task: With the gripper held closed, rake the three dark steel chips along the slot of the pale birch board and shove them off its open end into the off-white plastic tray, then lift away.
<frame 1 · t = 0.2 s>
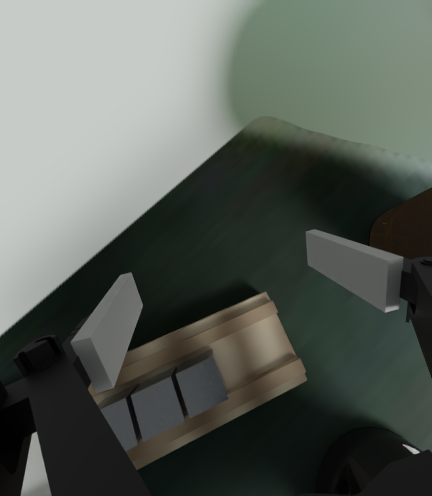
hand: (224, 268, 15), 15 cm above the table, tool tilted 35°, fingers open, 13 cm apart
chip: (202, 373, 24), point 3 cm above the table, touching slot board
slot board: (196, 369, 27), on the table
tray: (31, 447, 24), on the table
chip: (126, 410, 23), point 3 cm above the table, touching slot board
chip middle: (165, 391, 23), point 3 cm above the table, touching slot board
wooden container: (413, 251, 33), on the table
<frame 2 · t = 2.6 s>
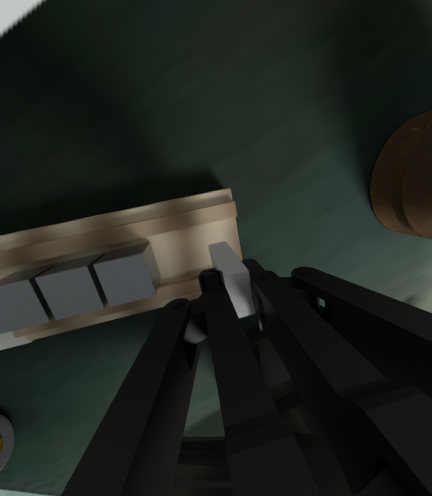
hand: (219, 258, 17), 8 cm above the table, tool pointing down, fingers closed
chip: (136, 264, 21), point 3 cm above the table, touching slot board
slot board: (133, 257, 24), on the table
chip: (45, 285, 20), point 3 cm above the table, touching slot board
chip middle: (91, 274, 21), point 3 cm above the table, touching slot board
wooden container: (418, 176, 27), on the table
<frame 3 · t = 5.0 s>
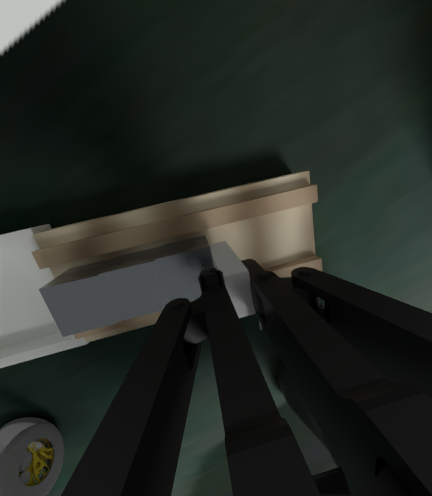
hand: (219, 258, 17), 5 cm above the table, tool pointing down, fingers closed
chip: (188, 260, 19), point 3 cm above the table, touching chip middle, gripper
slot board: (192, 250, 22), on the table
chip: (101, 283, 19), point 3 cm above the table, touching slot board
chip middle: (145, 271, 19), point 3 cm above the table, touching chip
pocket watch: (42, 427, 26), on the table
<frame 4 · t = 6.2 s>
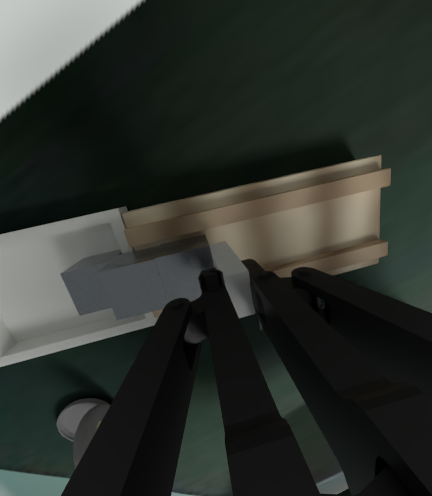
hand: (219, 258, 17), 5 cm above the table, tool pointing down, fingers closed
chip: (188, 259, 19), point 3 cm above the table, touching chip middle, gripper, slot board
slot board: (256, 235, 23), on the table
tray: (67, 281, 21), on the table
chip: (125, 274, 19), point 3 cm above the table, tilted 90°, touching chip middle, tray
chip middle: (145, 270, 19), point 3 cm above the table, touching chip, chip
pocket watch: (100, 409, 26), on the table
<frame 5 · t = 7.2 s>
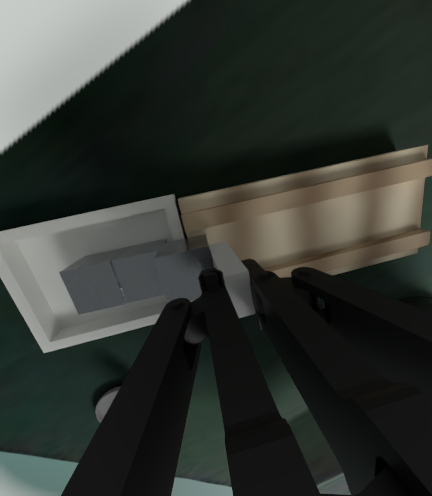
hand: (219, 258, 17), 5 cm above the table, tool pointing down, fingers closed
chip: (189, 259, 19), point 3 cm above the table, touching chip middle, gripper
slot board: (297, 224, 23), on the table
tray: (113, 268, 21), on the table
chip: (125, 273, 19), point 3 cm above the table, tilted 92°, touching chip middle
chip middle: (151, 261, 21), point 1 cm above the table, touching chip, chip
pocket watch: (135, 397, 27), on the table
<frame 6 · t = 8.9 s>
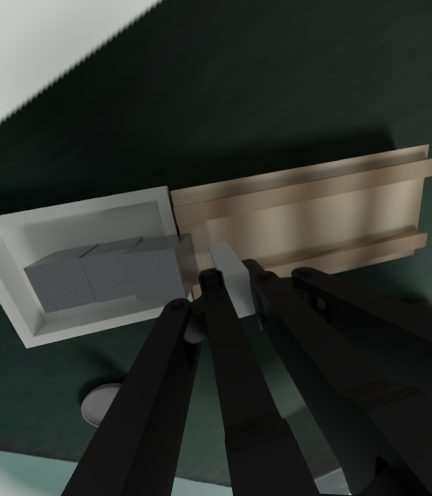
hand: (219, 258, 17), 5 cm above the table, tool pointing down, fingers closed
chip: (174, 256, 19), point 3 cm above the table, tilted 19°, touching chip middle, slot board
slot board: (293, 222, 22), on the table
tray: (102, 262, 21), on the table
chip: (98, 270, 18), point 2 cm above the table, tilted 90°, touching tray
chip middle: (127, 259, 20), resting on tray, touching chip
pocket watch: (123, 395, 26), on the table
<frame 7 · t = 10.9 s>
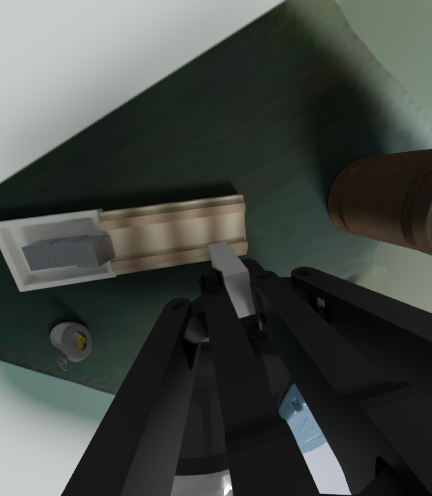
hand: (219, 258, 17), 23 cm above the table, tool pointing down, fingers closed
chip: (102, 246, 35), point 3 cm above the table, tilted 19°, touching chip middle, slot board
slot board: (179, 231, 39), on the table
tray: (65, 247, 37), on the table
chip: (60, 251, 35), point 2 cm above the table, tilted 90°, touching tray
chip middle: (79, 247, 37), resting on tray, touching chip
wooden container: (359, 196, 43), on the table
pocket watch: (77, 331, 42), on the table
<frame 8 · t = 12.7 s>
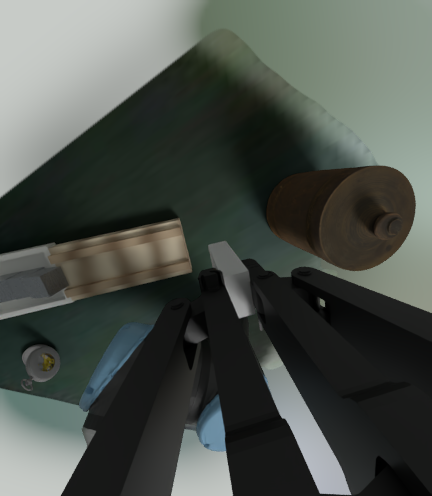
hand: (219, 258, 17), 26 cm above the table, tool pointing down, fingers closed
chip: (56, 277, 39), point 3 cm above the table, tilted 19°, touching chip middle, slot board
slot board: (128, 256, 43), on the table
tray: (26, 279, 41), on the table
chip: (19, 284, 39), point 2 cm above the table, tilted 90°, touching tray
chip middle: (38, 278, 41), resting on tray, touching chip
wooden container: (297, 208, 45), on the table
pocket watch: (48, 352, 46), on the table
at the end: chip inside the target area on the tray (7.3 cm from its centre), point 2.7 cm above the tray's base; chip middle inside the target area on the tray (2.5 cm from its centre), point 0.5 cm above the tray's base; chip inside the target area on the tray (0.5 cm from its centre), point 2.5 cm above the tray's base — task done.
